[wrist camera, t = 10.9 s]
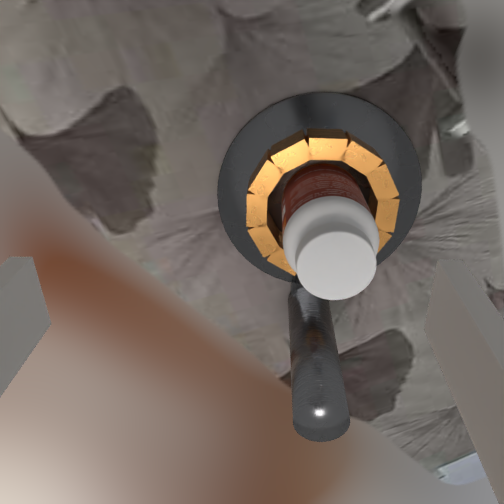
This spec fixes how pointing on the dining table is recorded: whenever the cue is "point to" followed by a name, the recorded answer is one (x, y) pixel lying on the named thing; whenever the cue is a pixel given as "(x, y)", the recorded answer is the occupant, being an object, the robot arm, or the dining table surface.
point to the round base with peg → (270, 221)
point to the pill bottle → (328, 231)
